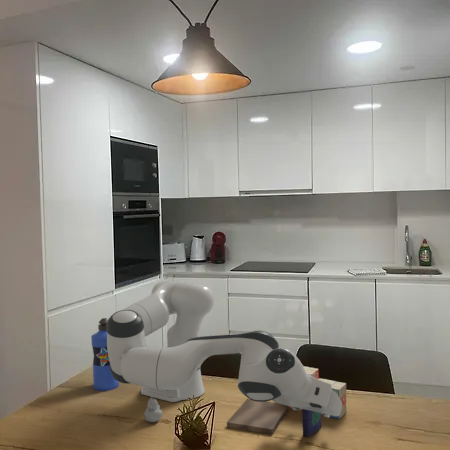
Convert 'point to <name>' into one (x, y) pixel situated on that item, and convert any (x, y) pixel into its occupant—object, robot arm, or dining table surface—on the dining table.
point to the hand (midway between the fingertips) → (311, 411)
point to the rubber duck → (153, 411)
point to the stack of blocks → (336, 387)
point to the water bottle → (102, 360)
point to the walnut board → (258, 416)
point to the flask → (310, 422)
